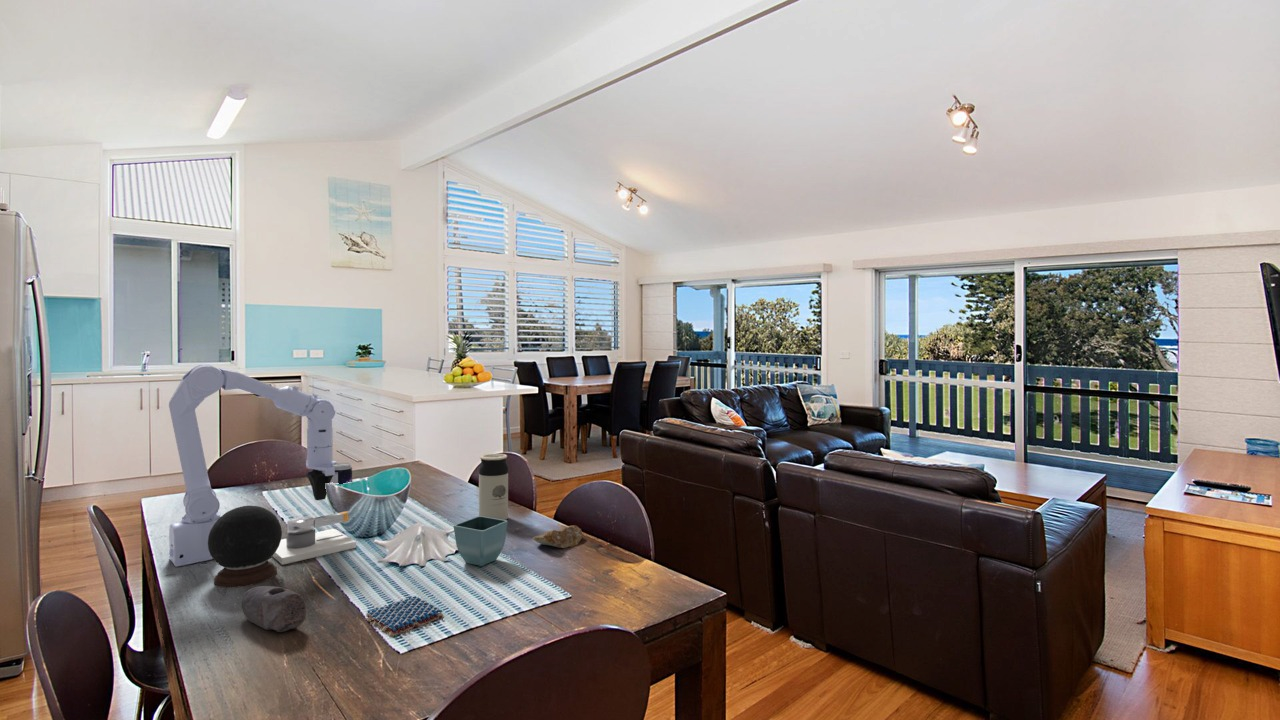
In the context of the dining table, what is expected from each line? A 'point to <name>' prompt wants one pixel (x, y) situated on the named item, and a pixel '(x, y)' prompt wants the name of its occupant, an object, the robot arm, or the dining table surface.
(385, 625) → the woven mat
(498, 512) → the travel mug
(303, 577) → the dining table surface
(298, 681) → the dining table surface
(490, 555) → the flower pot
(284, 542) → the board
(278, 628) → the perforated stone tool
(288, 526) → the lever with orange knob
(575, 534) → the decorative stone
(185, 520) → the robot arm
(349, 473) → the beverage can
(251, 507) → the black egg on stand
